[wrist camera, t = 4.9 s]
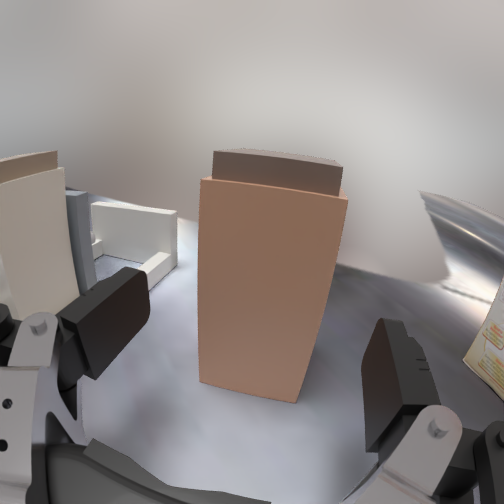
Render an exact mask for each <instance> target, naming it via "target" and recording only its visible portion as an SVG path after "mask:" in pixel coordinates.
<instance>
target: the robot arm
mask: <svg viewBox="0 0 504 504" xmlns="http://www.w3.org/2000/svg"><path fill="white" fill-rule="evenodd" d="M149 315H150V300H149V290H148V279H147V274H146V272H145V271H142V270H138V269H134V268H130V267H124V268H122V269H121V270H120V271H118V272H117V273H115V274H114V275H113V276H111V277H109V278H106V279H104V280H101V281H99V282H98V283H96V284H95V285H94V286H92V287H91V288H90V290H87V291H86V292H84V293H83V294H82V296H81V295H80V296H79V297H78V298H76V299H75V300H74V301H72V302H71V303H70V304H68V305H67V306H66V307H64V308H63V309H62V310H61V311H59V312H58V313H57V314H55V315H54V314H52V313H49V312H38V313H34V314H32V315H30V316H28V317H27V318H25V319H24V320H23V321H21V320H16V319H12V316H11V313H10V310H9V308H8V306H7V305H5V304H2V303H0V504H271V502H268V501H262V500H257V499H252V498H247V497H242V496H238V495H233V494H229V493H225V492H220V491H206V490H195V489H187V488H179V487H173V486H169V485H167V484H165V483H163V482H162V481H160V480H159V479H157V478H156V477H155V476H153V475H152V474H150V473H149V472H148V471H146V470H145V469H144V468H142V467H141V466H140V465H138V464H137V463H136V462H134V461H133V460H132V459H131V458H129V457H128V456H125V455H123V454H121V453H119V452H117V451H116V450H114V449H112V448H110V447H108V446H106V445H104V444H103V443H101V442H99V441H97V440H95V439H94V438H93V439H92V440H91V442H90V443H89V444H88V442H87V439H86V436H85V434H84V430H83V420H82V384H81V381H80V378H81V376H82V375H83V374H84V375H86V376H88V377H90V378H92V379H94V380H97V378H98V377H99V376H100V375H101V374H102V373H103V371H104V370H105V369H106V368H107V367H108V366H109V365H110V363H111V362H112V361H113V360H114V359H115V358H116V357H117V355H118V354H119V353H120V352H121V351H122V350H123V349H124V347H125V346H126V345H127V344H128V343H129V342H130V341H131V340H132V338H133V337H134V336H135V335H136V334H137V333H138V332H139V331H140V330H141V328H142V327H143V326H144V325H145V324H146V322H147V321H148V318H149ZM429 370H430V368H429V365H428V362H426V357H425V354H424V351H423V349H422V347H421V346H420V345H419V344H418V342H417V341H416V340H415V339H414V338H413V337H408V335H407V332H406V329H405V326H404V324H403V322H402V321H400V320H392V319H385V318H380V319H379V320H378V322H377V324H376V327H375V329H374V332H373V334H372V337H371V339H370V342H369V344H368V346H367V349H366V351H365V354H364V356H363V360H362V366H361V375H362V386H363V399H364V415H365V440H366V452H375V453H378V457H379V460H378V461H377V462H376V463H375V464H374V466H373V467H372V468H371V469H370V470H369V471H368V473H367V474H366V475H365V476H364V477H363V478H362V479H361V480H360V481H359V483H358V484H357V485H356V486H355V487H354V488H353V489H352V490H351V491H350V492H349V493H348V494H347V495H346V496H345V497H344V498H343V499H342V500H341V501H340V502H339V503H338V504H474V497H473V489H474V488H475V487H477V486H478V485H479V491H480V502H481V504H504V422H503V421H494V422H492V423H491V424H490V425H489V426H488V427H487V428H486V429H485V430H484V431H483V432H479V431H475V430H471V429H466V428H463V427H462V425H461V422H460V419H459V418H458V416H457V415H456V414H455V413H454V412H453V411H452V410H450V409H449V408H447V407H444V406H441V403H440V400H439V396H438V393H437V390H436V386H435V383H434V380H433V377H432V374H431V372H429Z"/></svg>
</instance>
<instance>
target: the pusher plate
mask: <svg viewBox="0 0 504 504" xmlns="http://www.w3.org/2000/svg"><path fill="white" fill-rule="evenodd" d="M65 194H66V208H67V219H68V228H69V236H70V244H71V251H72V257H73V263H74V269H75V274H76V280H77V285H78V289H79V294H80V295H81V296H82V294H83V293H84V292H86V291H87V290H90V288H91V287H92V286H94V285H95V284H96V283H97V278H96V272H95V265H94V258H93V250H92V244H93V243H95V241H96V237H95V234H94V233H93V232H92V231H90V222H89V209H88V192H81V191H67V190H65Z"/></svg>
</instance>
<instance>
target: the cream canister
mask: <svg viewBox="0 0 504 504" xmlns="http://www.w3.org/2000/svg"><path fill="white" fill-rule="evenodd" d="M64 171H65V169H64V168H58V167H57V151H47V152H38V153H29V154H21V155H16V156H12V157H7V158H3V159H0V303H2V304H5V305H7V306H8V308H9V310H10V313H11V316H12V319H16V320H21V321H23V320H24V319H25V318H27V317H28V316H30V315H32V314H34V313H38V312H49V313H52V314H54V315H55V314H57V313H58V312H59V311H61V310H62V309H63V308H64V307H66V306H67V305H68V304H70V303H71V302H72V301H74V300H75V299H76V298H78V297H79V296H80V294H79V289H78V285H77V280H76V274H75V269H74V263H73V257H72V251H71V244H70V236H69V228H68V219H67V208H66V194H65V172H64Z"/></svg>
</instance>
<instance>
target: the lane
mask: <svg viewBox="0 0 504 504" xmlns="http://www.w3.org/2000/svg"><path fill="white" fill-rule="evenodd" d="M91 216H92V228H93V233H94V234H95V237H96V241H95V243H93V244H92V250H93V258H94V260H95V259H96V258H98V257H99V256H101V255H103V254H105V255H109V256H113V257H118V258H122V259H126V260H130V261H135V262H139V263H143V264H142V265H141V266H140V267H138V268H137V269H138V270H142V271H145V272H146V274H147V279H148V290H151V289H152V288H153V287H154V286H155V285H156V284H157V283H158V282H159V281H160V280H161V279H162V278H163V277H164V276H165V275H167V274H168V273H169V272H170V271H171V270H172V269H173V268H174V267H175V266H176V265H177V211H173V210H165V209H157V208H150V207H142V206H133V205H125V204H116V203H108V202H96V203H93V204H91Z"/></svg>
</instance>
